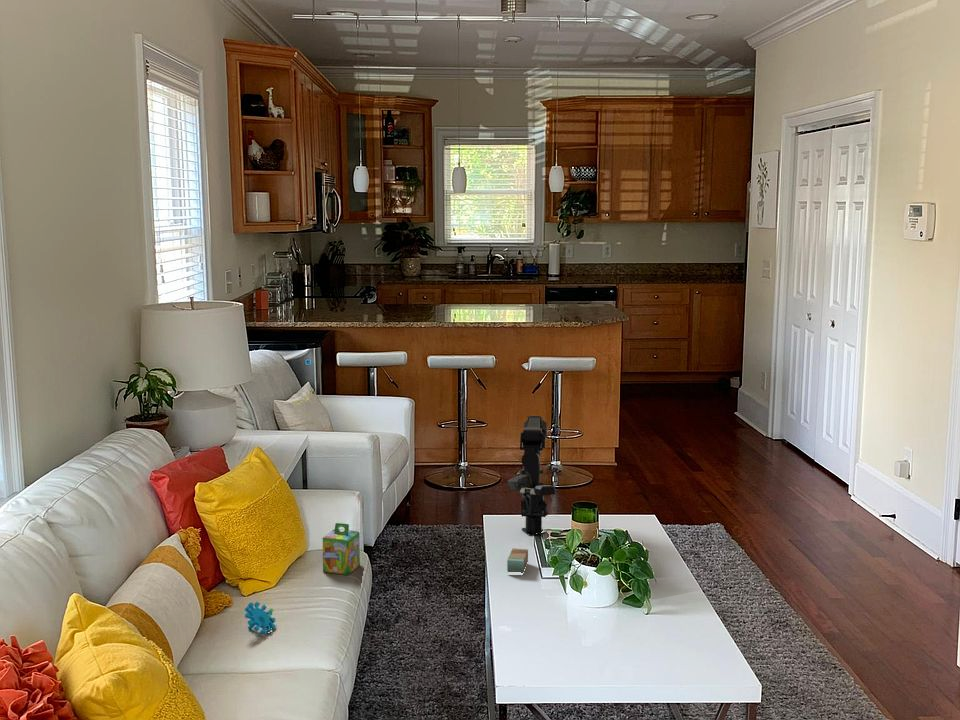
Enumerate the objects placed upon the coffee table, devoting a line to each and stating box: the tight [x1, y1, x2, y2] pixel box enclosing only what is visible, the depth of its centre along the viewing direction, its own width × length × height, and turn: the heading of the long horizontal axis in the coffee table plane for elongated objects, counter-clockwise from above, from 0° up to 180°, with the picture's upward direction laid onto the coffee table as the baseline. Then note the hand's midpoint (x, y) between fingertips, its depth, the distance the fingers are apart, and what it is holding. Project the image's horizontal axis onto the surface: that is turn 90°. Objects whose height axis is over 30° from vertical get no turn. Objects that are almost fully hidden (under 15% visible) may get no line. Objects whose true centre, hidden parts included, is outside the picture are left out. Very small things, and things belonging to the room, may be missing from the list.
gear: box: [244, 601, 277, 635], centre depth 262 cm, size 11×6×10 cm
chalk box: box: [322, 522, 361, 576], centre depth 303 cm, size 9×9×15 cm
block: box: [506, 547, 529, 573], centre depth 302 cm, size 5×5×10 cm
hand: (531, 514), depth 315 cm, fingers closed
